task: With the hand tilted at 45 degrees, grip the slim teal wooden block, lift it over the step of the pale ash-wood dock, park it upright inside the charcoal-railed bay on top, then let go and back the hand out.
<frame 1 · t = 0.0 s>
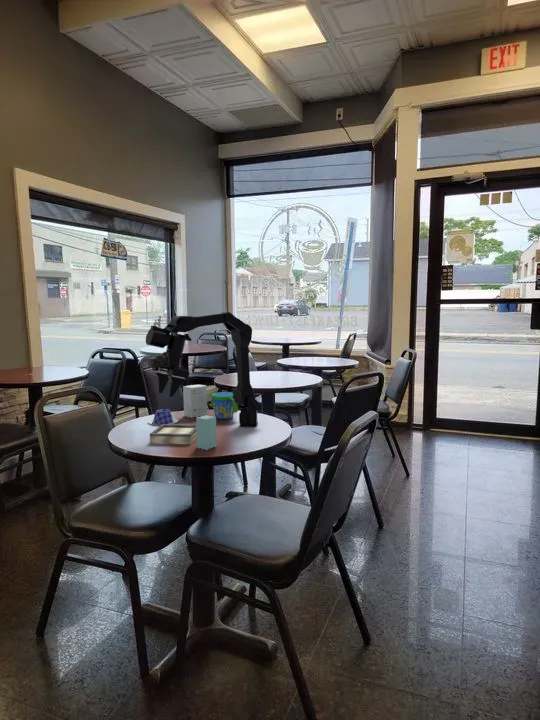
hand: (165, 394, 163), 15 cm above the table, tool pointing down, fingers open, 9 cm apart
small box: (195, 416, 202), on the table
checkered hat: (163, 423, 190), on the table
snack cup: (224, 418, 198), on the table
dock: (176, 438, 165), on the table
teal block: (206, 447, 154), on the table
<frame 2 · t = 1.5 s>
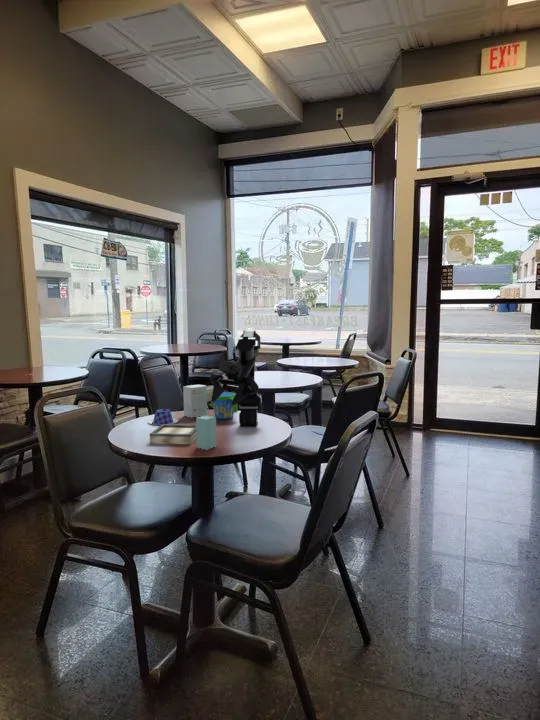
hand: (222, 402, 159), 13 cm above the table, tool tilted 45°, fingers open, 9 cm apart
nothing on the table moved.
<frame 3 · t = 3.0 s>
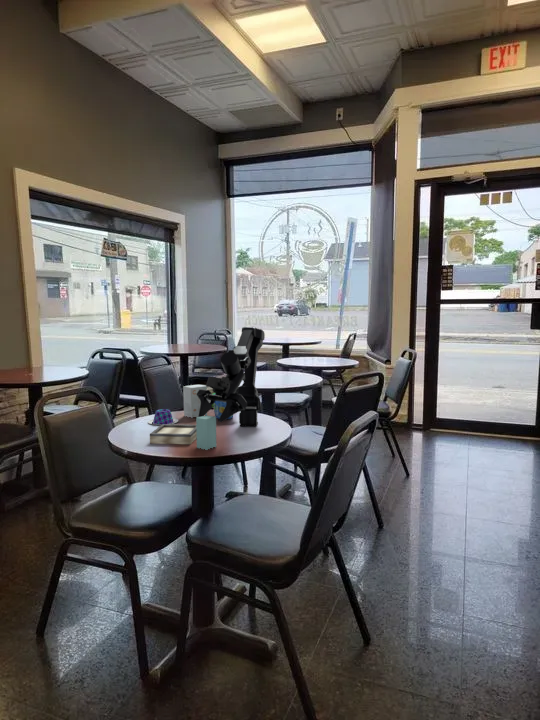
hand: (209, 419, 154), 9 cm above the table, tool tilted 45°, fingers open, 9 cm apart
nothing on the table moved.
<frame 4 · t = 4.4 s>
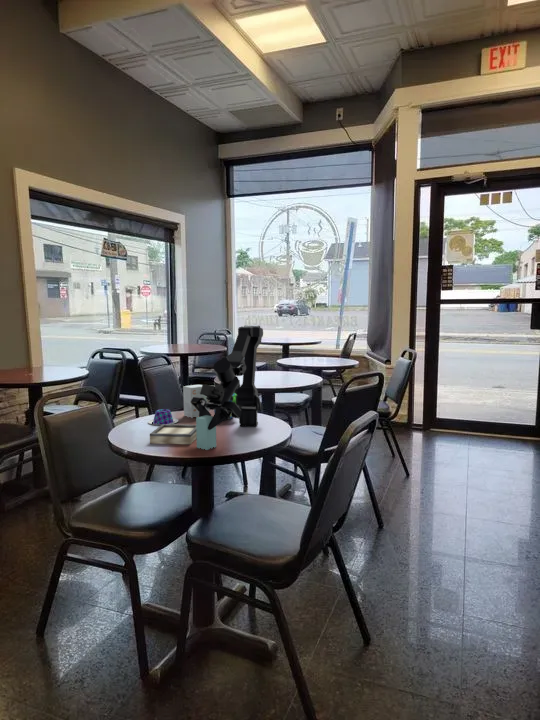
hand: (203, 428, 152), 7 cm above the table, tool tilted 45°, fingers closed on teal block, 4 cm apart
teal block: (206, 447, 154), on the table, touching gripper
everything else where it was.
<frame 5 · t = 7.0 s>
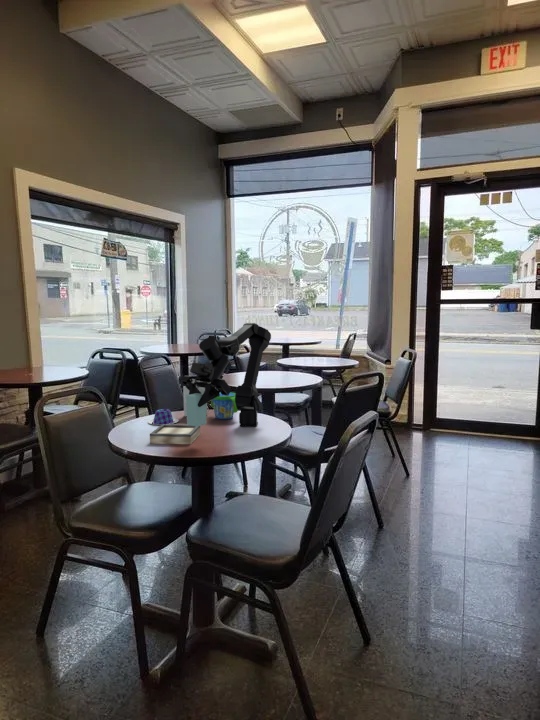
hand: (193, 405, 155), 13 cm above the table, tool tilted 45°, fingers closed on teal block, 4 cm apart
teal block: (196, 424, 157), point 7 cm above the table, touching gripper
everything else where it was.
when the fingers open (11 cm above the table, at t = 9.6 s): teal block drops 1 cm, resting on dock.
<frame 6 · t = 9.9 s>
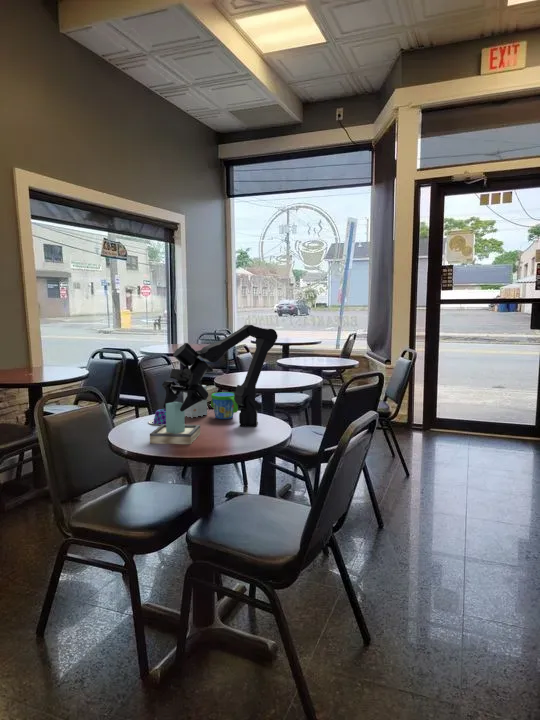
hand: (172, 409, 163), 11 cm above the table, tool tilted 45°, fingers open, 8 cm apart
teal block: (175, 431, 165), point 3 cm above the table, touching dock
everything else where it was.
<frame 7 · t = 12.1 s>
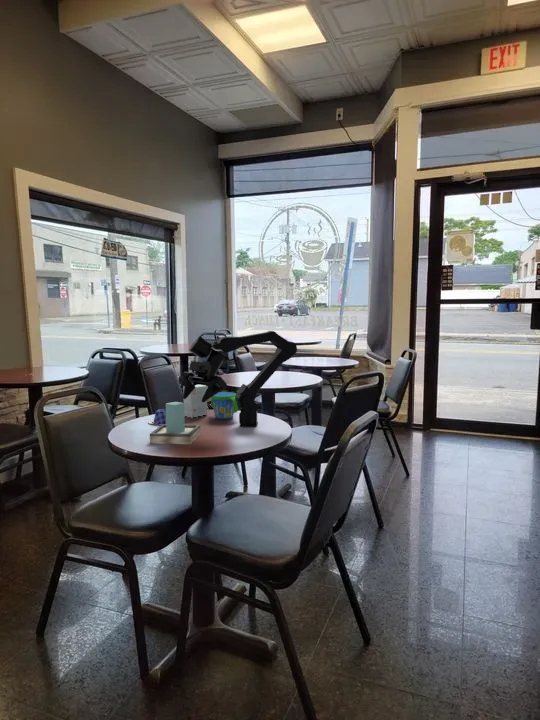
hand: (193, 400, 170), 12 cm above the table, tool tilted 40°, fingers open, 9 cm apart
nothing on the table moved.
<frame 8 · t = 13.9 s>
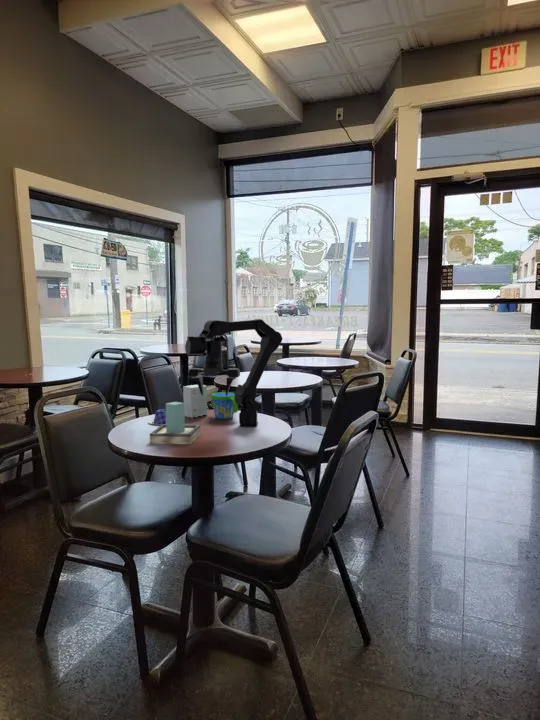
hand: (214, 395, 177), 13 cm above the table, tool pointing down, fingers open, 9 cm apart
at the end: teal block inside the target area on the dock (0.1 cm from its centre), point 2.5 cm above the dock's base; teal block tilted 0°; the gripper is holding nothing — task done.
